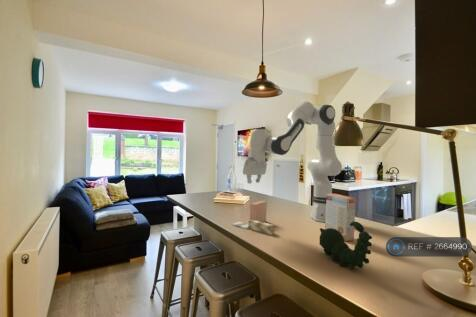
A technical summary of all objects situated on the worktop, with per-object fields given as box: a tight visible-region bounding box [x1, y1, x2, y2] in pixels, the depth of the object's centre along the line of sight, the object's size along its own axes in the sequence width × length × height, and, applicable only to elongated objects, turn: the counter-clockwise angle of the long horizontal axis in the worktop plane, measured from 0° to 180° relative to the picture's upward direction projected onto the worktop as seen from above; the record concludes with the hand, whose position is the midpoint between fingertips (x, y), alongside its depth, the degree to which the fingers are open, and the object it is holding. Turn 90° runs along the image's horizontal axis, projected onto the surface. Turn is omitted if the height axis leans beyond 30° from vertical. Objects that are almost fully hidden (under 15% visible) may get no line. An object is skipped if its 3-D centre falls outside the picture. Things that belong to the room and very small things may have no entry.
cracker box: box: [324, 192, 357, 242], centre depth 123 cm, size 14×6×21 cm, turn 22°
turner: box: [231, 219, 275, 236], centre depth 130 cm, size 24×6×4 cm, turn 53°
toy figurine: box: [319, 220, 373, 270], centre depth 95 cm, size 9×19×25 cm
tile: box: [249, 200, 268, 223], centre depth 142 cm, size 4×12×12 cm, turn 143°
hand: (253, 182), depth 132 cm, fingers open, 8 cm apart
